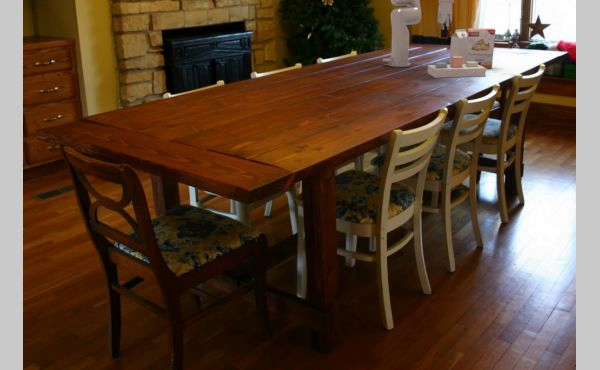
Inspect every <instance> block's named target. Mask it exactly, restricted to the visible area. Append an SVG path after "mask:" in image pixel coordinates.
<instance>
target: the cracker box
mask: <svg viewBox="0 0 600 370" xmlns="http://www.w3.org/2000/svg"><path fill="white" fill-rule="evenodd" d="M466 32H467V44H466V57H465V64H466V62H469V61H475V62H478V65H480V66H482V67H484V68H486V70H488V69H492V68H493V60H494V49H495V39H496V29H495V28H484V27H483V28H482V27H481V28H480V27H478V28H477V27H475V28H467V31H466Z"/></svg>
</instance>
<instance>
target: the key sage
mask: <svg viewBox="0 0 600 370" xmlns="http://www.w3.org/2000/svg"><path fill="white" fill-rule="evenodd" d="M466 67H478V62H475V61H469V62H466Z"/></svg>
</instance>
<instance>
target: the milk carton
mask: <svg viewBox="0 0 600 370" xmlns="http://www.w3.org/2000/svg"><path fill="white" fill-rule="evenodd" d="M466 30H467V29H466V28H464V29H463V28H462V29H461V28H460V29H455V31H454V33H453V34H452V35H451V36H450V38H451V39H450V51H449V64H451V56H461V57H463V64H465V57H466V44H467V32H468V31H466Z"/></svg>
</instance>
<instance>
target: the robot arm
mask: <svg viewBox="0 0 600 370" xmlns="http://www.w3.org/2000/svg"><path fill="white" fill-rule="evenodd" d="M390 2H391V5H394V6H401V7H396V8H394V9H392V11H391V13H390V24H391V53H390V55H391V56H390V57H388V58H383V59H382V63H388V66H389V67H394V68H404V67H410V66H412V63H411V62H409V51H410V49H409V48H410V46H409V45H410V32H409V31H410V30H409V29H408V26H411V25H417V24H419V23H420V21H421V20H422V8H421V2H420V0H390ZM438 3H439V4H438V9H437V11H438V12H437V20H436V21H437V23H438V24H440V38H442V39H443V38H444V39H445V38H448V36H449V26H450V24H451V23H452V22H453V21H452V20H453V4H454V3H455V0H438ZM407 25H408V26H407Z"/></svg>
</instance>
